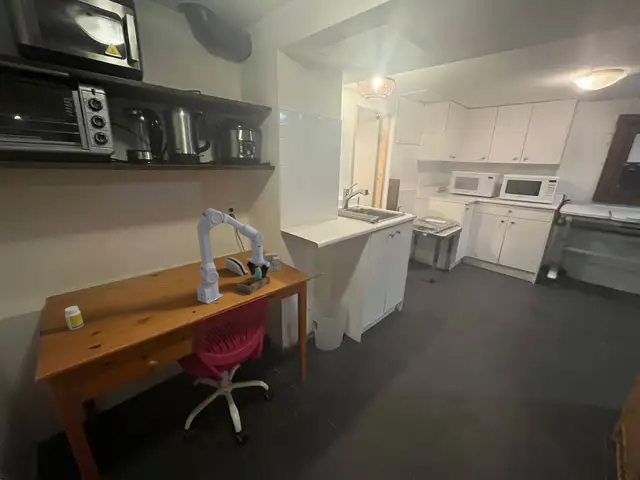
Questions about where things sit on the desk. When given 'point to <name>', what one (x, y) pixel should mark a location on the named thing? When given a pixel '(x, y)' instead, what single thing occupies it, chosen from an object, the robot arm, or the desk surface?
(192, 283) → the desk surface
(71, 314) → the supplement bottle
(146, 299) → the desk surface
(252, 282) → the hole block
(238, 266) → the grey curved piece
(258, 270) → the peg
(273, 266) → the puzzle cube
